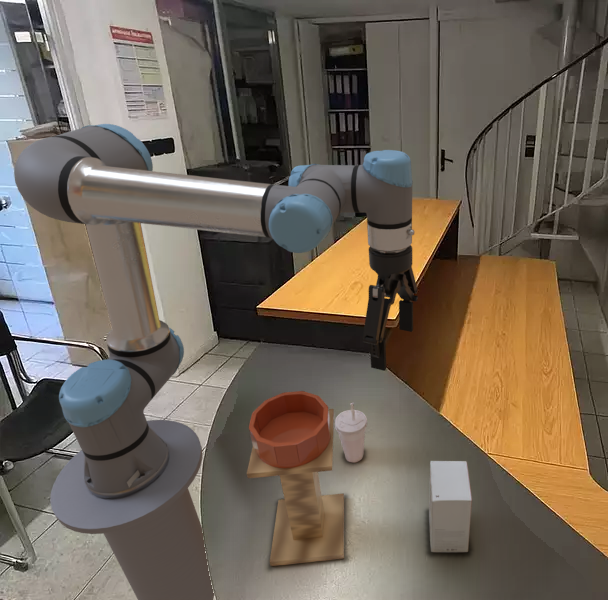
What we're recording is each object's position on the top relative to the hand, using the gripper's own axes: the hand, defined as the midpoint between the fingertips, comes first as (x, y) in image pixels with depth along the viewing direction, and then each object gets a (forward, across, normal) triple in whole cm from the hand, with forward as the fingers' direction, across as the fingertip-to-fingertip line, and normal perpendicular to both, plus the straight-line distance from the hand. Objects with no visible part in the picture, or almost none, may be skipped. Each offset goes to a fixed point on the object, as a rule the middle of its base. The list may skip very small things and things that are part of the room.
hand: (393, 348), depth 93 cm
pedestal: (+23, -26, +6) cm, 35 cm away
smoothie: (+23, -8, +6) cm, 25 cm away
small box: (+23, -18, -17) cm, 34 cm away
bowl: (+1, -26, +6) cm, 27 cm away
